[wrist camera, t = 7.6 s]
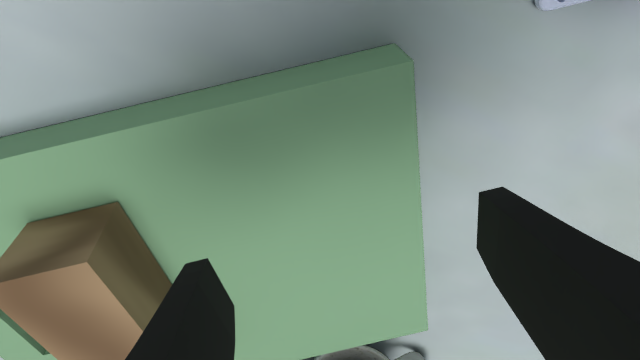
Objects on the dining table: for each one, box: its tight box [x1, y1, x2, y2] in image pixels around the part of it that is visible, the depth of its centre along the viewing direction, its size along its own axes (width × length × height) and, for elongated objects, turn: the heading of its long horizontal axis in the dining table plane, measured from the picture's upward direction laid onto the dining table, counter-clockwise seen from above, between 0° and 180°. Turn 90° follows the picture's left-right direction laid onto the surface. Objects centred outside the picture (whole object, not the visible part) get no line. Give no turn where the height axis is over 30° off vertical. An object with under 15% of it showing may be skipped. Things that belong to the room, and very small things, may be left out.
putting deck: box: [0, 43, 428, 360], centre depth 18 cm, size 26×18×10 cm
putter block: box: [0, 202, 172, 360], centre depth 18 cm, size 4×12×4 cm, turn 11°
